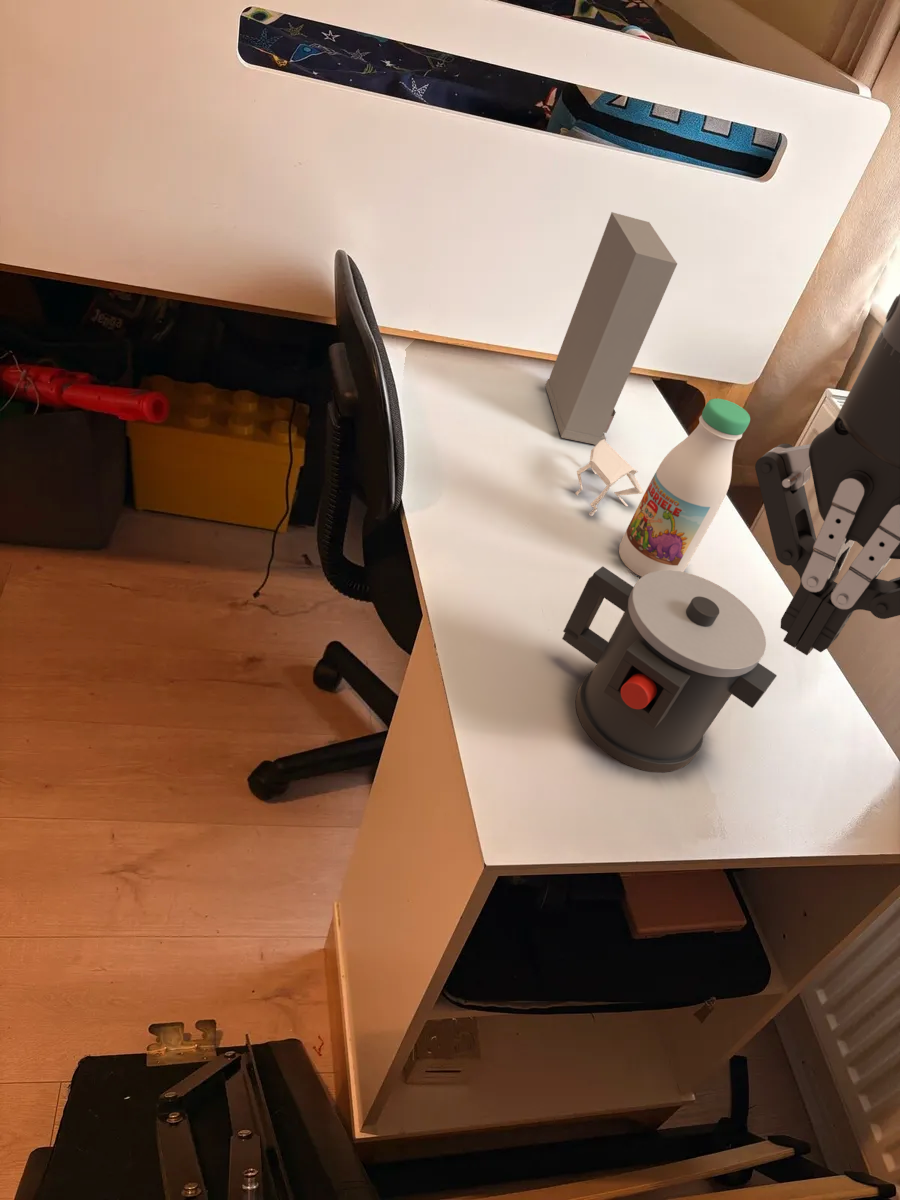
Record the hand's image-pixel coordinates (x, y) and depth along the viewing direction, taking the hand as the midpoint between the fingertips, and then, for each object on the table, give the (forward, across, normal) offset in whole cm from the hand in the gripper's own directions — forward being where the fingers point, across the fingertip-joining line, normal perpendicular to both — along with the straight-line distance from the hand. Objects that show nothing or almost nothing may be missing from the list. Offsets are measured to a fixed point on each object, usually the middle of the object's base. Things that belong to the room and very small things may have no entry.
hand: (800, 642), depth 50 cm
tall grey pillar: (+26, +47, -57) cm, 79 cm away
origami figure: (+27, +35, -45) cm, 63 cm away
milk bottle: (+27, +23, -38) cm, 52 cm away
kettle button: (+19, +10, -9) cm, 23 cm away
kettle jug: (+27, +12, -15) cm, 33 cm away
